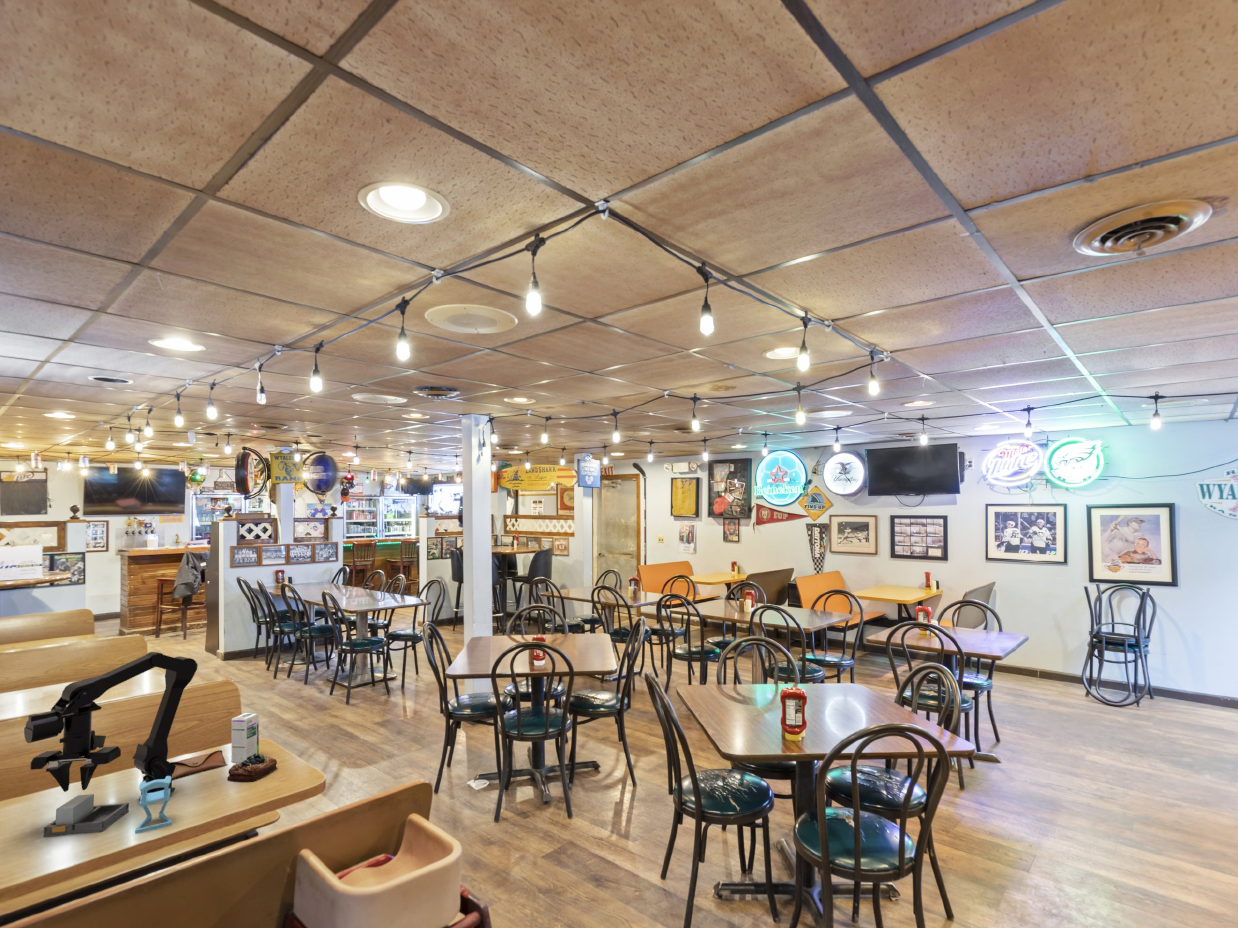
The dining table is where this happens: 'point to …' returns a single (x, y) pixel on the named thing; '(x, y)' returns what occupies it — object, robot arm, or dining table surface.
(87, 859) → the dining table surface
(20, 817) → the dining table surface
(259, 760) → the pastry
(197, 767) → the sunglasses case
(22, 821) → the dining table surface
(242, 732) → the syrup box
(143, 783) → the chair
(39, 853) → the dining table surface
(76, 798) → the grey rectangular block
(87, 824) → the dark grey flat tray
